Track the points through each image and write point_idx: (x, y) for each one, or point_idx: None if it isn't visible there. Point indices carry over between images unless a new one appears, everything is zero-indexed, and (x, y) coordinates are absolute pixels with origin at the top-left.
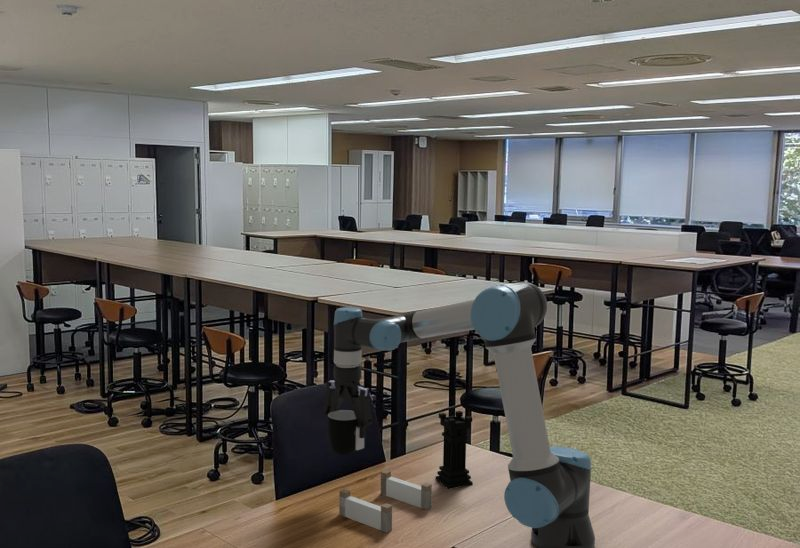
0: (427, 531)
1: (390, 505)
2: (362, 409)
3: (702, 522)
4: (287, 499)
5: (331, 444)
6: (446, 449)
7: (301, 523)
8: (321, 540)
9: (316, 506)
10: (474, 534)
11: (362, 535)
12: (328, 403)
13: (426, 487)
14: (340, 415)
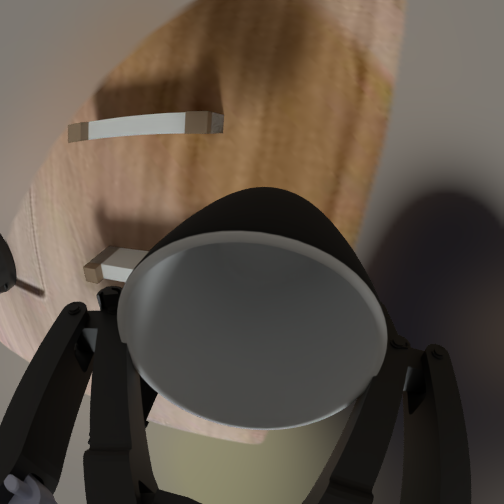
0: (64, 177)
1: (69, 139)
2: (38, 378)
3: (2, 339)
4: (385, 116)
5: (294, 193)
6: (142, 396)
7: (267, 34)
8: (179, 15)
9: (301, 118)
10: (32, 215)
11: (127, 81)
12: (432, 419)
13: (85, 266)
14: (330, 383)
